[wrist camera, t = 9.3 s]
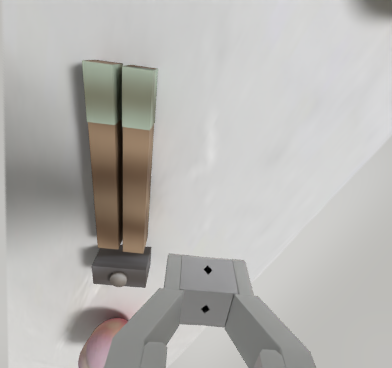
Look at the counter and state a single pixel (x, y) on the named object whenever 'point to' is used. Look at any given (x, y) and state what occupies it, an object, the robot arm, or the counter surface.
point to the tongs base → (109, 176)
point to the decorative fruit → (100, 344)
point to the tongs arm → (137, 152)
